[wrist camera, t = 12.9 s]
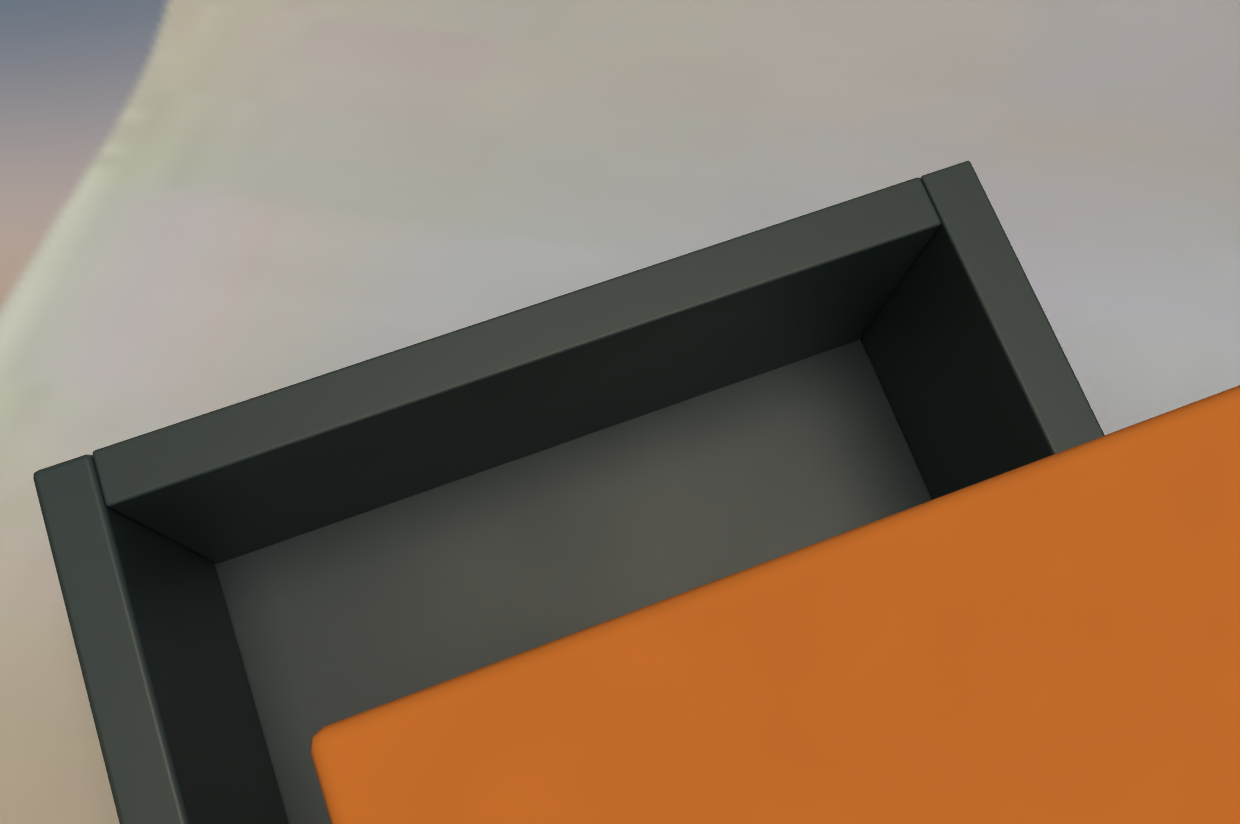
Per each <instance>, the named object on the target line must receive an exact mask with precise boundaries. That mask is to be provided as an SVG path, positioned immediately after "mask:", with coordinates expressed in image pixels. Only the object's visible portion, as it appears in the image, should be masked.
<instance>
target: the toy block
mask: <svg viewBox="0 0 1240 824" xmlns="http://www.w3.org/2000/svg"><path fill="white" fill-rule="evenodd" d="M311 755H312V759H313V762H314V766H315V769H316V772H317V776H318V779H319V783H320V786H321V789H322V793H323V796H324V800H325V803H326V806H327V810H328V813H329V817H330V820H331V823H332V824H1240V385H1239V386H1237V387H1234V388H1231V389H1229V390H1226V391H1223V392H1221V393H1218V394H1215V395H1213V396H1210V397H1207V398H1204V399H1202V400H1199V401H1196V402H1194V403H1191V404H1188V405H1186V406H1183V407H1180V408H1178V409H1175V410H1172V411H1170V412H1167V413H1164V414H1162V415H1159V416H1156V417H1153V418H1151V419H1148V420H1145V421H1143V422H1140V423H1137V424H1135V425H1132V426H1129V427H1127V428H1124V429H1121V430H1119V431H1116V432H1113V433H1111V434H1108V435H1105V436H1102V437H1100V438H1097V439H1094V440H1092V441H1089V442H1086V443H1084V444H1081V445H1078V446H1076V447H1073V448H1070V449H1068V450H1065V451H1062V452H1060V453H1057V454H1054V455H1051V456H1049V457H1046V458H1043V459H1041V460H1038V461H1035V462H1033V463H1030V464H1027V465H1025V466H1022V467H1019V468H1017V469H1014V470H1011V471H1008V472H1006V473H1003V474H1000V475H998V476H995V477H992V478H990V479H987V480H984V481H982V482H979V483H976V484H974V485H971V486H968V487H966V488H963V489H960V490H957V491H955V492H952V493H949V494H947V495H944V496H941V497H939V498H936V499H933V500H931V501H928V502H925V503H923V504H920V505H917V506H915V507H912V508H909V509H906V510H904V511H901V512H898V513H896V514H893V515H890V516H888V517H885V518H882V519H880V520H877V521H874V522H872V523H869V524H866V525H864V526H861V527H858V528H855V529H853V530H850V531H847V532H845V533H842V534H839V535H837V536H834V537H831V538H829V539H826V540H823V541H821V542H818V543H815V544H813V545H810V546H807V547H804V548H802V549H799V550H796V551H794V552H791V553H788V554H786V555H783V556H780V557H778V558H775V559H772V560H770V561H767V562H764V563H762V564H759V565H756V566H753V567H751V568H748V569H745V570H743V571H740V572H737V573H735V574H732V575H729V576H727V577H724V578H721V579H719V580H716V581H713V582H710V583H708V584H705V585H702V586H700V587H697V588H694V589H692V590H689V591H686V592H684V593H681V594H678V595H676V596H673V597H670V598H668V599H665V600H662V601H659V602H657V603H654V604H651V605H649V606H646V607H643V608H641V609H638V610H635V611H633V612H630V613H627V614H625V615H622V616H619V617H617V618H614V619H611V620H608V621H606V622H603V623H600V624H598V625H595V626H592V627H590V628H587V629H584V630H582V631H579V632H576V633H574V634H571V635H568V636H566V637H563V638H560V639H557V640H555V641H552V642H549V643H547V644H544V645H541V646H539V647H536V648H533V649H531V650H528V651H525V652H523V653H520V654H517V655H515V656H512V657H509V658H506V659H504V660H501V661H498V662H496V663H493V664H490V665H488V666H485V667H482V668H480V669H477V670H474V671H472V672H469V673H466V674H463V675H461V676H458V677H455V678H453V679H450V680H447V681H445V682H442V683H439V684H437V685H434V686H431V687H429V688H426V689H423V690H421V691H418V692H415V693H412V694H410V695H407V696H404V697H402V698H399V699H396V700H394V701H391V702H388V703H386V704H383V705H380V706H378V707H375V708H372V709H370V710H367V711H364V712H361V713H359V714H356V715H353V716H351V717H348V718H345V719H343V720H340V721H337V722H335V723H332V724H329V725H327V726H324V727H323V728H322V729H321V730H320V731H318V732H317V733H316V734H315V735H314V736H313V737H312V745H311Z"/></svg>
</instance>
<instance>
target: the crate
mask: <svg viewBox="0 0 1240 824" xmlns="http://www.w3.org/2000/svg"><path fill="white" fill-rule="evenodd" d="M1102 436H1105V435H1104V433H1103V431H1102V429H1101V427H1100V425H1099V423H1098V421H1097V419H1096V417H1095V415H1094V413H1093V411H1092V409H1091V407H1090V405H1089V403H1088V401H1087V399H1086V397H1085V394H1084V392H1083V390H1082V388H1081V386H1080V384H1079V382H1078V380H1077V378H1076V376H1075V374H1074V372H1073V370H1072V368H1071V366H1070V364H1069V362H1068V360H1067V358H1066V356H1065V354H1064V352H1063V350H1062V348H1061V346H1060V344H1059V342H1058V340H1057V338H1056V336H1055V333H1054V331H1053V329H1052V327H1051V325H1050V323H1049V321H1048V319H1047V317H1046V315H1045V313H1044V311H1043V309H1042V307H1041V305H1040V303H1039V301H1038V299H1037V297H1036V295H1035V293H1034V291H1033V289H1032V287H1031V285H1030V283H1029V281H1028V279H1027V277H1026V274H1025V272H1024V270H1023V268H1022V266H1021V264H1020V262H1019V260H1018V258H1017V256H1016V254H1015V252H1014V250H1013V248H1012V246H1011V244H1010V242H1009V240H1008V238H1007V236H1006V234H1005V232H1004V230H1003V228H1002V226H1001V224H1000V222H999V220H998V218H997V216H996V213H995V211H994V209H993V207H992V205H991V203H990V201H989V199H988V197H987V195H986V193H985V191H984V189H983V187H982V185H981V183H980V181H979V179H978V177H977V175H976V173H975V171H974V169H973V167H972V165H971V163H970V162H969V161H966V162H963V163H960V164H957V165H954V166H951V167H948V168H945V169H942V170H939V171H935V172H932V173H929V174H926V175H923V176H922V177H921V178H914V179H911V180H908V181H905V182H902V183H899V184H896V185H893V186H890V187H887V188H884V189H881V190H878V191H875V192H872V193H869V194H866V195H863V196H860V197H857V198H854V199H851V200H848V201H845V202H842V203H839V204H836V205H833V206H830V207H827V208H824V209H821V210H818V211H815V212H812V213H809V214H806V215H803V216H800V217H797V218H794V219H791V220H788V221H785V222H782V223H779V224H776V225H773V226H770V227H767V228H764V229H761V230H758V231H755V232H752V233H749V234H746V235H743V236H740V237H737V238H734V239H731V240H728V241H725V242H722V243H719V244H716V245H713V246H710V247H707V248H704V249H701V250H698V251H694V252H691V253H688V254H685V255H682V256H679V257H676V258H673V259H670V260H667V261H664V262H661V263H658V264H655V265H652V266H649V267H646V268H643V269H640V270H637V271H634V272H631V273H628V274H625V275H622V276H619V277H616V278H613V279H610V280H607V281H604V282H601V283H598V284H595V285H592V286H589V287H586V288H583V289H580V290H577V291H574V292H571V293H568V294H565V295H562V296H559V297H556V298H553V299H550V300H547V301H544V302H541V303H538V304H535V305H532V306H529V307H526V308H523V309H520V310H517V311H514V312H511V313H508V314H505V315H502V316H499V317H496V318H493V319H490V320H487V321H484V322H481V323H478V324H475V325H472V326H469V327H465V328H462V329H459V330H456V331H453V332H450V333H447V334H444V335H441V336H438V337H435V338H432V339H429V340H426V341H423V342H420V343H417V344H414V345H411V346H408V347H405V348H402V349H399V350H396V351H393V352H390V353H387V354H384V355H381V356H378V357H375V358H372V359H369V360H366V361H363V362H360V363H357V364H354V365H351V366H348V367H345V368H342V369H339V370H336V371H333V372H330V373H327V374H324V375H321V376H318V377H315V378H312V379H309V380H306V381H303V382H300V383H297V384H294V385H291V386H288V387H285V388H282V389H279V390H276V391H273V392H270V393H267V394H264V395H261V396H258V397H255V398H252V399H249V400H246V401H243V402H240V403H236V404H233V405H230V406H227V407H224V408H221V409H218V410H215V411H212V412H209V413H206V414H203V415H200V416H197V417H194V418H191V419H188V420H185V421H182V422H179V423H176V424H173V425H170V426H167V427H164V428H161V429H158V430H155V431H152V432H149V433H146V434H143V435H140V436H137V437H134V438H131V439H128V440H125V441H122V442H119V443H116V444H113V445H110V446H107V447H104V448H101V449H98V450H95V451H94V452H93V456H92V455H83V456H80V457H77V458H74V459H71V460H68V461H65V462H62V463H59V464H56V465H53V466H50V467H47V468H44V469H41V470H39V471H37V472H35V473H34V483H35V487H36V491H37V495H38V499H39V503H40V507H41V511H42V515H43V519H44V523H45V527H46V531H47V535H48V539H49V543H50V546H51V550H52V554H53V558H54V562H55V566H56V570H57V574H58V578H59V582H60V586H61V590H62V594H63V598H64V602H65V606H66V610H67V614H68V618H69V622H70V626H71V630H72V634H73V638H74V642H75V646H76V650H77V654H78V658H79V662H80V666H81V670H82V674H83V678H84V682H85V686H86V690H87V694H88V698H89V702H90V706H91V710H92V714H93V718H94V722H95V726H96V730H97V734H98V738H99V742H100V746H101V750H102V754H103V758H104V762H105V766H106V770H107V774H108V778H109V782H110V786H111V790H112V794H113V798H114V802H115V806H116V810H117V814H118V818H119V822H120V824H332V823H331V820H330V817H329V813H328V810H327V806H326V803H325V800H324V796H323V793H322V789H321V786H320V783H319V779H318V776H317V772H316V769H315V766H314V762H313V759H312V755H311V745H312V737H313V736H314V735H315V734H316V733H317V732H318V731H320V730H321V729H322V728H323V727H324V726H327V725H329V724H332V723H335V722H337V721H340V720H343V719H345V718H348V717H351V716H353V715H356V714H359V713H361V712H364V711H367V710H370V709H372V708H375V707H378V706H380V705H383V704H386V703H388V702H391V701H394V700H396V699H399V698H402V697H404V696H407V695H410V694H412V693H415V692H418V691H421V690H423V689H426V688H429V687H431V686H434V685H437V684H439V683H442V682H445V681H447V680H450V679H453V678H455V677H458V676H461V675H463V674H466V673H469V672H472V671H474V670H477V669H480V668H482V667H485V666H488V665H490V664H493V663H496V662H498V661H501V660H504V659H506V658H509V657H512V656H515V655H517V654H520V653H523V652H525V651H528V650H531V649H533V648H536V647H539V646H541V645H544V644H547V643H549V642H552V641H555V640H557V639H560V638H563V637H566V636H568V635H571V634H574V633H576V632H579V631H582V630H584V629H587V628H590V627H592V626H595V625H598V624H600V623H603V622H606V621H608V620H611V619H614V618H617V617H619V616H622V615H625V614H627V613H630V612H633V611H635V610H638V609H641V608H643V607H646V606H649V605H651V604H654V603H657V602H659V601H662V600H665V599H668V598H670V597H673V596H676V595H678V594H681V593H684V592H686V591H689V590H692V589H694V588H697V587H700V586H702V585H705V584H708V583H710V582H713V581H716V580H719V579H721V578H724V577H727V576H729V575H732V574H735V573H737V572H740V571H743V570H745V569H748V568H751V567H753V566H756V565H759V564H762V563H764V562H767V561H770V560H772V559H775V558H778V557H780V556H783V555H786V554H788V553H791V552H794V551H796V550H799V549H802V548H804V547H807V546H810V545H813V544H815V543H818V542H821V541H823V540H826V539H829V538H831V537H834V536H837V535H839V534H842V533H845V532H847V531H850V530H853V529H855V528H858V527H861V526H864V525H866V524H869V523H872V522H874V521H877V520H880V519H882V518H885V517H888V516H890V515H893V514H896V513H898V512H901V511H904V510H906V509H909V508H912V507H915V506H917V505H920V504H923V503H925V502H928V501H931V500H933V499H936V498H939V497H941V496H944V495H947V494H949V493H952V492H955V491H957V490H960V489H963V488H966V487H968V486H971V485H974V484H976V483H979V482H982V481H984V480H987V479H990V478H992V477H995V476H998V475H1000V474H1003V473H1006V472H1008V471H1011V470H1014V469H1017V468H1019V467H1022V466H1025V465H1027V464H1030V463H1033V462H1035V461H1038V460H1041V459H1043V458H1046V457H1049V456H1051V455H1054V454H1057V453H1060V452H1062V451H1065V450H1068V449H1070V448H1073V447H1076V446H1078V445H1081V444H1084V443H1086V442H1089V441H1092V440H1094V439H1097V438H1100V437H1102Z"/></svg>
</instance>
